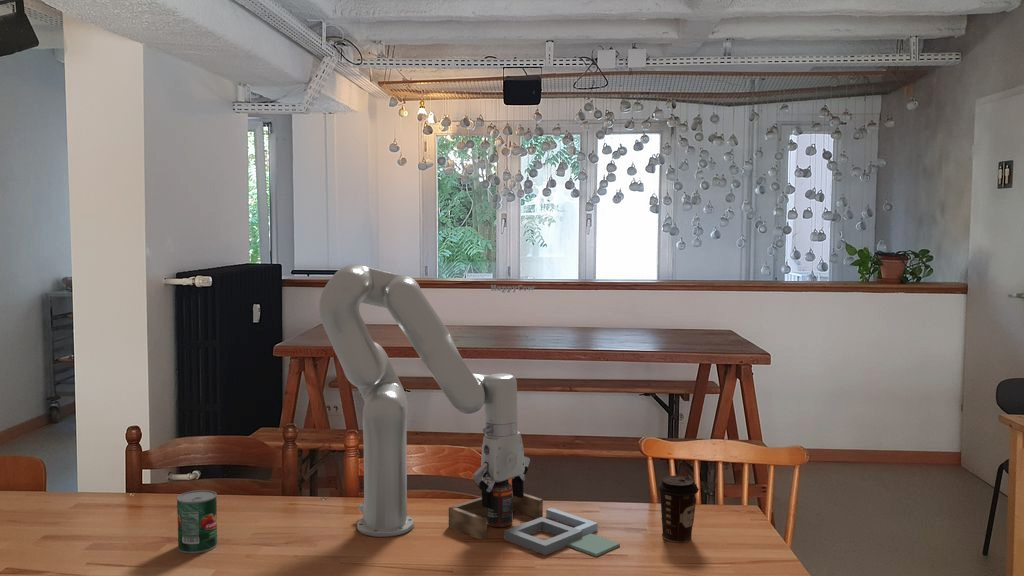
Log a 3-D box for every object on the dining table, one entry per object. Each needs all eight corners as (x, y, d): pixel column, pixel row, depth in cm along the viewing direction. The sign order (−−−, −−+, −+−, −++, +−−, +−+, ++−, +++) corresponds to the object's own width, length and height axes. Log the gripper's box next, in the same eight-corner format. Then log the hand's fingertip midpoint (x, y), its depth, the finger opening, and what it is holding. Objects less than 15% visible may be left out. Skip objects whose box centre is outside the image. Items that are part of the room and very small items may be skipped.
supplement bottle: (516, 521, 192) (517, 473, 191) (505, 530, 186) (506, 481, 186) (493, 517, 194) (494, 470, 193) (482, 525, 189) (482, 477, 188)
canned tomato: (177, 542, 178) (176, 492, 177) (216, 537, 181) (215, 488, 180) (178, 556, 171) (177, 504, 170) (219, 550, 174) (217, 499, 173)
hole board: (504, 539, 181) (504, 530, 181) (541, 525, 189) (541, 516, 189) (545, 555, 173) (545, 545, 172) (582, 539, 181) (582, 530, 181)
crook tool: (531, 522, 192) (531, 514, 192) (551, 515, 197) (551, 507, 196) (578, 538, 182) (578, 530, 182) (597, 530, 187) (597, 522, 187)
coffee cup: (699, 533, 185) (701, 476, 184) (695, 547, 177) (696, 487, 176) (660, 528, 188) (661, 472, 187) (654, 541, 180) (655, 483, 179)
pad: (567, 546, 178) (567, 543, 178) (590, 536, 183) (590, 533, 183) (596, 556, 172) (596, 553, 172) (619, 546, 178) (619, 543, 178)
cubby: (448, 526, 188) (448, 507, 188) (508, 506, 202) (508, 488, 202) (482, 540, 180) (482, 520, 180) (542, 518, 194) (542, 499, 194)
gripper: (485, 439, 180) (487, 515, 181) (539, 423, 192) (540, 495, 194) (462, 433, 185) (464, 508, 187) (515, 418, 197) (517, 489, 199)
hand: (503, 501), depth 190 cm, fingers open, 9 cm apart
